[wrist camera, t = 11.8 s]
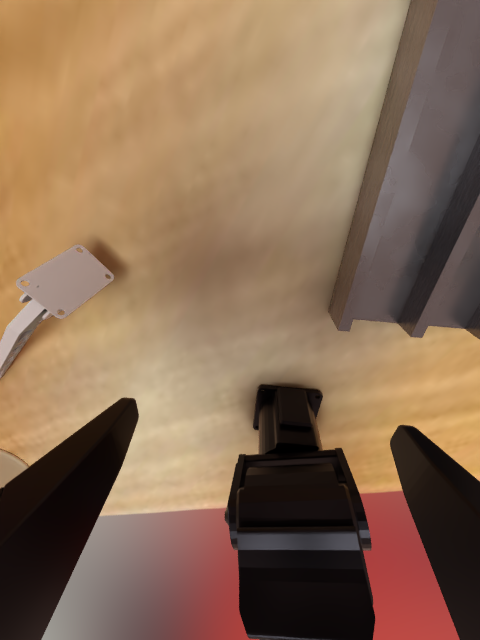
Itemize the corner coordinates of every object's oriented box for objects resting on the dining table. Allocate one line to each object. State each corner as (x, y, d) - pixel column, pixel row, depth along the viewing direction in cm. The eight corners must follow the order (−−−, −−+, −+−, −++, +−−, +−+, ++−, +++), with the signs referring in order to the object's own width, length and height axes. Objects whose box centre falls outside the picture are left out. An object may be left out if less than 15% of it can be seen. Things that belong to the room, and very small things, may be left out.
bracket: (117, 276, 18) (-29, 390, 12) (69, 334, 33) (-7, 398, 27) (81, 241, 17) (-101, 347, 11) (48, 318, 32) (-36, 381, 26)
